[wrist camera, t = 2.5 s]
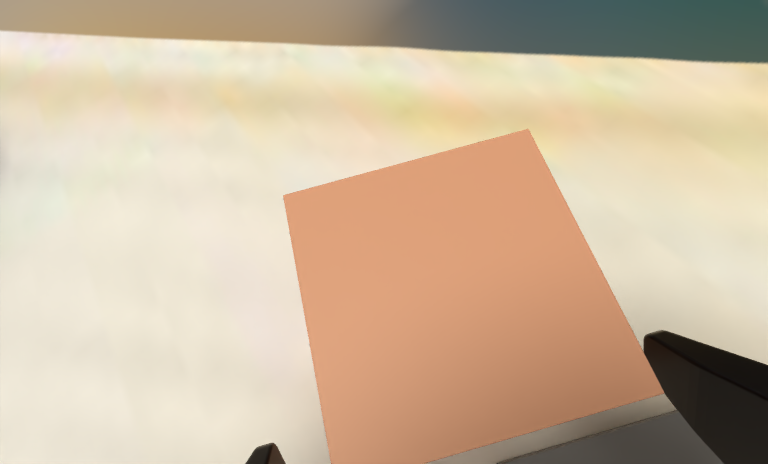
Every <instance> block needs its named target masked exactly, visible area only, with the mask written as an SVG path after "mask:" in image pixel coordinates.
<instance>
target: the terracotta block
mask: <svg viewBox="0 0 768 464" xmlns="http://www.w3.org/2000/svg"><path fill="white" fill-rule="evenodd" d="M283 197H284V203H285V208H286V214H287V220H288V225H289V231H290V236H291V242H292V248H293V253H294V259H295V264H296V270H297V276H298V281H299V287H300V292H301V298H302V303H303V309H304V315H305V320H306V326H307V331H308V337H309V343H310V348H311V354H312V359H313V365H314V371H315V376H316V382H317V387H318V393H319V398H320V404H321V410H322V415H323V421H324V426H325V432H326V438H327V443H328V449H329V454H330V460H331V464H424V463H428V462H431V461H435V460H438V459H441V458H445V457H448V456H452V455H455V454H459V453H462V452H465V451H469V450H472V449H476V448H479V447H483V446H486V445H489V444H493V443H496V442H500V441H503V440H506V439H510V438H513V437H517V436H520V435H524V434H527V433H530V432H534V431H537V430H541V429H544V428H547V427H551V426H554V425H558V424H561V423H565V422H568V421H571V420H575V419H578V418H582V417H585V416H589V415H592V414H595V413H599V412H602V411H606V410H609V409H612V408H616V407H619V406H623V405H626V404H630V403H633V402H636V401H640V400H643V399H647V398H650V397H653V396H657V395H660V394H664V391H663V389H662V387H661V385H660V383H659V381H658V379H657V378H656V376H655V374H654V372H653V370H652V368H651V366H650V364H649V362H648V360H647V358H646V356H645V354H644V352H643V350H642V348H641V346H640V345H639V343H638V341H637V339H636V337H635V335H634V333H633V331H632V329H631V327H630V325H629V323H628V321H627V319H626V317H625V315H624V314H623V312H622V310H621V308H620V306H619V304H618V302H617V300H616V298H615V296H614V294H613V292H612V290H611V288H610V286H609V284H608V282H607V281H606V279H605V277H604V275H603V273H602V271H601V269H600V267H599V265H598V263H597V261H596V259H595V257H594V255H593V253H592V251H591V250H590V248H589V246H588V244H587V242H586V240H585V238H584V236H583V234H582V232H581V230H580V228H579V226H578V224H577V222H576V220H575V218H574V217H573V215H572V213H571V211H570V209H569V207H568V205H567V203H566V201H565V199H564V197H563V195H562V193H561V191H560V189H559V187H558V186H557V184H556V182H555V180H554V178H553V176H552V174H551V172H550V170H549V168H548V166H547V164H546V162H545V160H544V158H543V156H542V154H541V153H540V151H539V149H538V147H537V145H536V143H535V141H534V139H533V137H532V135H531V133H530V131H529V129H526V130H522V131H519V132H515V133H511V134H508V135H504V136H500V137H496V138H493V139H489V140H485V141H482V142H478V143H474V144H471V145H467V146H463V147H460V148H456V149H452V150H449V151H445V152H441V153H438V154H434V155H430V156H426V157H423V158H419V159H415V160H412V161H408V162H404V163H401V164H397V165H393V166H390V167H386V168H382V169H379V170H375V171H371V172H367V173H364V174H360V175H356V176H353V177H349V178H345V179H342V180H338V181H334V182H331V183H327V184H323V185H320V186H316V187H312V188H309V189H305V190H301V191H297V192H294V193H290V194H286V195H283Z"/></svg>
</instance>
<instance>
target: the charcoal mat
mask: <svg viewBox="0 0 768 464" xmlns="http://www.w3.org/2000/svg"><path fill="white" fill-rule="evenodd" d="M497 464H724V463H723V462H722V461H721V460H720V459H719V458H718V457H717V456H716V455H715V454H714V452H713V451H712V450H711V449H710V448H709V447H708V446H707V445H706V444H705V443H704V442H703V441H702V439H701V438H700V437H699V436H698V435H697V434H696V433H695V432H694V430H693V429H692V428H691V427H690V425H689V424H688V423H687V422H686V421H685V419H684V418H683V417H682V415H681V414H680V413H679V411H678V410H676V411H673V412H669V413H666V414H662V415H659V416H656V417H652V418H649V419H645V420H642V421H639V422H635V423H632V424H628V425H625V426H622V427H618V428H615V429H611V430H608V431H605V432H601V433H598V434H594V435H591V436H588V437H584V438H581V439H577V440H574V441H571V442H567V443H564V444H560V445H557V446H554V447H550V448H547V449H543V450H540V451H537V452H533V453H530V454H526V455H523V456H520V457H516V458H513V459H509V460H506V461H503V462H499V463H497Z"/></svg>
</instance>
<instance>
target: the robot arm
mask: <svg viewBox="0 0 768 464" xmlns="http://www.w3.org/2000/svg"><path fill="white" fill-rule="evenodd" d="M644 354H645V356H646V358H647V360H648V362H649V364H650V366H651V368H652V370H653V372H654V374H655V376H656V378H657V379H658V381H659V383H660V385H661V387H662V389H663V391H664V393H665V395H666V396H667V397H668V399H669V400H670V401H671V402H672V404H673V405H674V406H675V408H676V409H677V410H678V411H679V413H680V414H681V415H682V417H683V418H684V419H685V421H686V422H687V423H688V424H689V425H690V427H691V428H692V429H693V430H694V432H695V433H696V434H697V435H698V436H699V437H700V438H701V439H702V441H703V442H704V443H705V444H706V445H707V446H708V447H709V448H710V449H711V450H712V451H713V452H714V454H715V455H716V456H717V457H718V458H719V459H720V460H721V461H722V462H723V463H724V464H768V365H766V364H763V363H760V362H757V361H754V360H751V359H748V358H745V357H742V356H739V355H736V354H733V353H730V352H728V351H725V350H722V349H719V348H716V347H713V346H710V345H707V344H704V343H701V342H698V341H695V340H692V339H689V338H686V337H683V336H680V335H677V334H674V333H671V332H668V331H664V330H660V331H656V332H653V333H649V334H647V335H645V337H644ZM246 464H286V463H285V461H284V459H283V457H282V455H281V453H280V451H279V449H278V447H277V446H276V444H274V443H269V444H266V445H262V446H259V447H257V448H256V449H255V450H254V451H253V453H252V454H251V456H250V458H249V459H248V461H247V462H246Z"/></svg>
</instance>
